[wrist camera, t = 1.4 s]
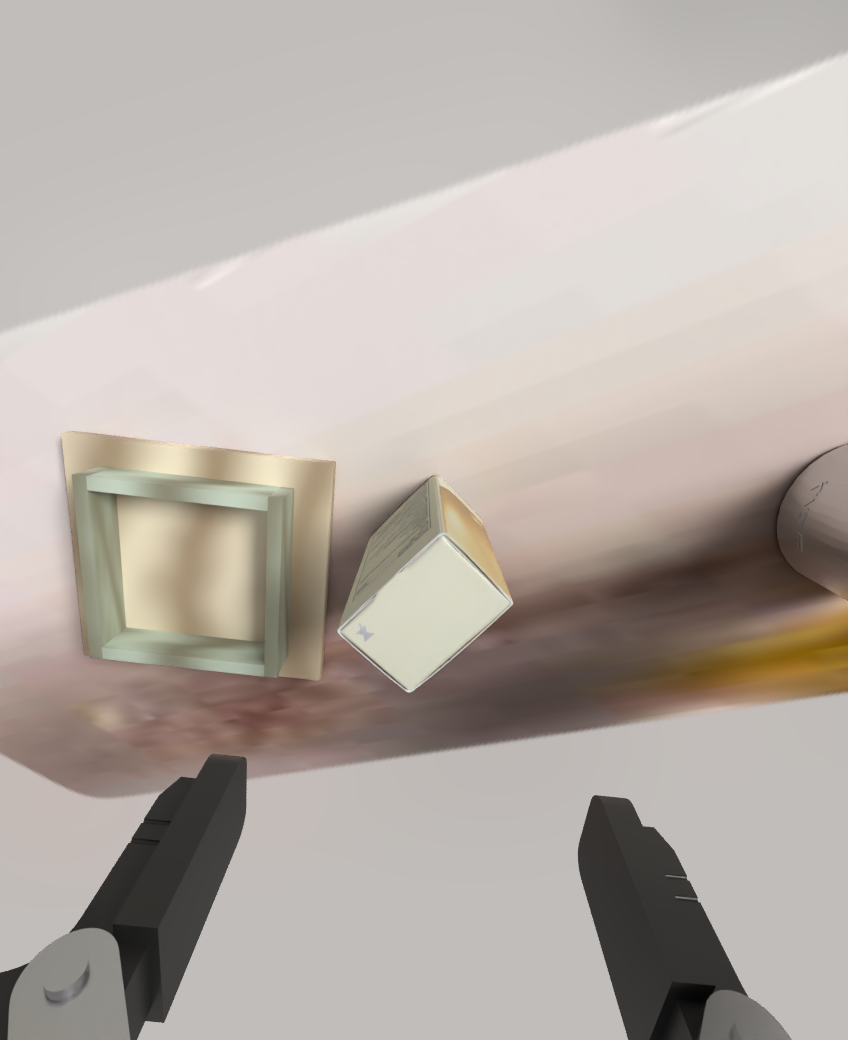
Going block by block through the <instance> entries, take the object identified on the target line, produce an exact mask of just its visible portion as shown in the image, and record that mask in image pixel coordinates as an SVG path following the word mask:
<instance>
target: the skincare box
mask: <svg viewBox="0 0 848 1040" xmlns="http://www.w3.org/2000/svg"><path fill="white" fill-rule="evenodd" d="M512 605H513V601H512V598H511V596H510V593H509V591H508V588H507V585H506V583H505V580H504V577H503V575H502V572H501V569H500V567H499V564H498V562H497V559H496V557H495V554H494V551H493V549H492V546H491V544H490V541H489V538H488V536H487V533H486V531H485V528H484V525H483V523H482V520H481V518H480V517H479V516H478V515H477V514H476V513H475V512H474V511H473V510H472V509H471V508H470V507H469V506H468V505H467V503H466V502H465V501H464V500H463V499H462V498H461V497H460V496H459V495H458V494H457V493H456V492H455V491H454V490H453V489H452V488H451V487H450V486H449V485H448V484H447V483H446V482H445V481H444V480H443V479H442V478H441V477H440V476H438V475H434V476H432V477H431V478H430V479H429V480H428V481H427V482H426V483H424V484H423V485H422V486H421V487H420V488H419V489H418V490H417V491H416V492H415V493H414V494H413V495H412V496H411V497H410V498H409V499H407V500H406V501H405V502H404V503H403V504H402V505H401V506H400V507H399V508H398V509H397V510H396V511H395V512H394V513H393V514H392V515H391V516H390V517H389V518H388V519H387V520H386V521H385V522H384V523H383V524H382V526H381V527H380V528H379V529H378V530H377V531H376V532H375V533H374V534H373V535H372V536H371V537H370V539H369V541H368V544H367V547H366V550H365V553H364V556H363V559H362V561H361V564H360V567H359V570H358V573H357V575H356V578H355V581H354V584H353V587H352V589H351V592H350V595H349V598H348V601H347V603H346V606H345V609H344V612H343V615H342V618H341V621H340V623H339V626H338V629H337V633H338V634H339V635H340V636H341V637H343V638H344V639H345V640H346V641H347V642H348V643H349V644H351V645H352V646H353V647H354V648H355V649H356V650H357V651H358V652H360V653H361V654H362V655H363V656H364V657H365V658H366V659H367V660H369V661H370V662H371V663H372V664H373V665H374V666H375V667H377V668H378V669H379V670H380V671H381V672H382V673H384V674H385V675H386V676H387V677H388V678H390V679H391V680H392V681H393V682H395V683H396V684H398V685H399V686H400V687H401V688H402V689H404V690H405V691H406V692H412V691H414V690H415V689H416V688H417V687H419V686H420V685H422V684H423V683H424V682H425V681H427V680H428V679H429V678H431V677H432V676H433V675H434V674H435V673H437V672H438V671H439V670H440V669H442V668H443V667H444V666H445V665H446V664H447V663H449V662H450V661H451V660H452V659H453V658H454V657H455V656H457V655H458V654H459V653H460V652H461V651H462V650H463V649H465V648H466V647H467V646H468V645H469V644H470V643H471V642H473V641H474V640H475V639H476V638H477V637H478V636H479V635H480V634H481V633H483V632H484V631H485V630H486V629H487V628H488V627H489V626H490V625H491V624H492V623H493V622H495V621H496V620H497V619H498V618H499V617H500V616H501V615H502V614H503V613H504V612H505V611H506V610H507V609H509V608H510V607H511V606H512Z"/></svg>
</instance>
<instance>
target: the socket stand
mask: <svg viewBox="0 0 848 1040" xmlns="http://www.w3.org/2000/svg"><path fill="white" fill-rule="evenodd" d="M61 437H62V447H63V457H64V466H65V476H66V485H67V495H68V505H69V514H70V524H71V533H72V543H73V553H74V562H75V572H76V581H77V591H78V600H79V610H80V620H81V629H82V639H83V648H84V655H90V658H99V659H108V660H117V661H126V662H135V663H145V664H154V665H163V666H172V667H181V668H190V669H199V670H208V671H217V672H227V673H236V674H245V675H254V676H263V677H272V678H277V677H278V676H281V677H290V678H299V679H309V680H318V681H320V678H321V676H322V673H323V661H324V644H325V628H326V612H327V596H328V580H329V564H330V548H331V532H332V516H333V500H334V484H335V467H336V462H333V461H324V460H316V459H307V458H299V457H290V456H281V455H273V454H264V453H256V452H247V451H239V450H230V449H222V448H213V447H204V446H196V445H187V444H179V443H170V442H162V441H153V440H145V439H136V438H128V437H119V436H110V435H102V434H93V433H85V432H76V431H71V432H65V433H61Z"/></svg>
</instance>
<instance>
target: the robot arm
mask: <svg viewBox="0 0 848 1040" xmlns="http://www.w3.org/2000/svg"><path fill="white" fill-rule="evenodd" d="M777 538H778V542H779V547H780V550H781V552H782V554H783V555H784V557H785V559H786V561H787V562H788V563H789V564H790V565H791V566H792V567H793V568H794V569H795V570H796V571H797V572H799V573H800V574H802V575H804V576H805V577H807V578H809V579H810V580H812V581H814V582H816V583H818V584H819V585H821V586H823V587H825V588H826V589H828V590H830V591H832V592H834V593H835V594H837V595H839V596H841V597H842V598H844V599H846V600H848V445H844V446H841V447H839V448H837V449H835V450H833V451H830V452H828V453H826V454H824V455H823V456H822V457H820V458H819V459H817V460H816V461H815V462H813V463H812V464H810V465H809V466H808V467H807V468H806V469H805V470H804V471H803V472H802V473H801V474H800V475H799V476H798V477H797V479H796V480H795V481H794V483H793V484H792V486H791V487H790V488H789V490H788V491H787V493H786V496H785V498H784V500H783V502H782V504H781V507H780V511H779V515H778V519H777ZM246 779H247V762H246V758H245V757H238V756H229V755H219V754H211V755H210V756H209V757H208V759H207V760H206V762H205V764H204V766H203V767H202V769H201V771H200V773H199V774H198V776H197V778H186V777H180V778H179V779H178V780H177V781H176V782H174V783H173V784H172V785H171V786H170V787H169V788H167V789H166V790H165V791H164V792H163V793H162V794H160V795H159V797H158V798H157V800H156V801H155V803H154V804H153V806H152V807H151V809H150V811H149V812H148V814H147V815H146V817H145V818H144V822H143V823H141V825H140V826H139V828H138V829H137V831H136V832H135V834H134V836H133V837H132V841H131V843H128V845H127V847H126V848H125V850H124V851H123V853H122V854H121V856H120V858H119V859H118V861H117V862H116V864H115V866H114V867H113V868H112V870H111V872H110V873H109V875H108V876H107V878H106V879H105V881H104V883H103V884H102V886H101V887H100V889H99V891H98V892H97V894H96V895H95V897H94V898H93V900H92V901H91V903H90V905H89V906H88V908H87V909H86V911H85V912H84V914H83V916H82V917H81V918H80V920H79V921H78V923H77V924H76V926H75V927H74V928H73V929H72V930H71V931H70V933H69V934H66V935H64V936H62V937H60V938H59V939H57V940H55V941H54V942H52V943H51V944H49V945H48V946H47V947H45V948H44V949H43V950H42V951H41V952H39V954H37V956H35V958H34V959H33V960H31V962H30V963H28V964H25V965H23V966H21V967H18V968H15V969H12V970H9V971H5V972H1V973H0V1040H137V1038H138V1036H139V1034H140V1031H141V1029H142V1027H143V1025H144V1022H145V1021H152V1022H162V1023H164V1021H165V1019H166V1017H167V1014H168V1011H169V1009H170V1007H171V1005H172V1002H173V1000H174V997H175V995H176V992H177V990H178V987H179V985H180V982H181V980H182V978H183V975H184V973H185V970H186V968H187V965H188V963H189V960H190V958H191V956H192V953H193V951H194V948H195V946H196V943H197V941H198V939H199V936H200V934H201V931H202V929H203V926H204V924H205V921H206V919H207V916H208V914H209V912H210V909H211V907H212V904H213V902H214V900H215V897H216V895H217V892H218V890H219V887H220V885H221V882H222V880H223V878H224V875H225V873H226V870H227V868H228V865H229V863H230V860H231V858H232V856H233V853H234V851H235V848H236V846H237V843H238V841H239V838H240V835H241V832H242V829H243V825H244V819H245V814H246ZM578 863H579V871H580V876H581V879H582V883H583V886H584V890H585V893H586V896H587V900H588V903H589V907H590V910H591V914H592V917H593V920H594V924H595V927H596V931H597V934H598V937H599V941H600V944H601V948H602V951H603V954H604V958H605V961H606V965H607V968H608V972H609V975H610V979H611V982H612V985H613V989H614V992H615V996H616V999H617V1003H618V1006H619V1009H620V1013H621V1016H622V1019H623V1023H624V1026H625V1030H626V1033H627V1037H628V1040H791V1038H790V1037H789V1035H788V1034H787V1032H786V1031H785V1030H784V1028H783V1027H782V1026H781V1024H780V1023H779V1022H778V1021H777V1020H776V1019H775V1018H774V1017H773V1016H772V1015H771V1014H770V1013H769V1012H768V1011H767V1010H766V1009H765V1008H764V1007H762V1006H761V1005H760V1004H759V1003H757V1002H756V1001H754V1000H753V999H751V998H749V997H748V995H747V994H746V992H745V990H744V988H743V987H742V985H741V983H740V981H739V979H738V977H737V975H736V973H735V971H734V969H733V967H732V965H731V963H730V961H729V959H728V957H727V955H726V953H725V951H724V949H723V947H722V945H721V943H720V941H719V939H718V937H717V935H716V933H715V931H714V929H713V927H712V925H711V923H710V921H709V919H708V917H707V915H706V913H705V911H704V909H703V907H702V905H701V903H699V902H698V900H697V895H696V893H695V891H694V889H693V887H692V885H691V883H690V881H688V880H687V875H686V873H685V871H684V869H683V867H682V865H681V863H680V861H679V859H678V857H677V855H676V853H675V851H674V850H673V849H672V848H671V846H670V845H669V844H668V843H667V842H666V841H665V840H664V838H663V837H662V836H661V835H660V834H659V833H658V832H657V830H656V829H655V828H653V827H643V826H642V824H641V821H640V819H639V817H638V815H637V813H636V811H635V808H634V807H633V805H632V803H631V802H630V801H629V800H628V799H626V798H616V797H607V796H606V797H605V796H597V795H595V796H593V797H592V799H591V802H590V806H589V809H588V813H587V817H586V820H585V824H584V827H583V831H582V835H581V838H580V842H579V847H578Z"/></svg>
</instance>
